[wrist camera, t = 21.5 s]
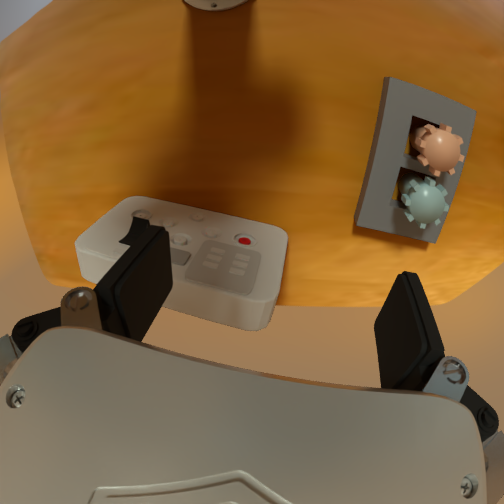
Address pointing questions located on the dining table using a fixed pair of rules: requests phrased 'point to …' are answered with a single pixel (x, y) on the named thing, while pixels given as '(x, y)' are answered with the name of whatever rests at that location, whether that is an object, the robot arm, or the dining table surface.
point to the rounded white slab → (197, 258)
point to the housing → (407, 157)
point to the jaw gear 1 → (437, 147)
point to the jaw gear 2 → (422, 199)
